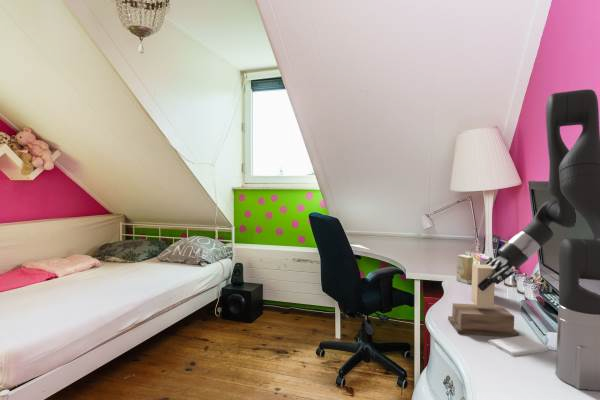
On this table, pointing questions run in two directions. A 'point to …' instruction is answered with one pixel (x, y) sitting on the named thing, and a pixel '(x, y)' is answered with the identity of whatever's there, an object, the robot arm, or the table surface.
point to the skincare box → (464, 268)
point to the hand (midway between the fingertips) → (476, 285)
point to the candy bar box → (480, 258)
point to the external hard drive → (518, 345)
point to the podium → (482, 320)
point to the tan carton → (477, 277)
